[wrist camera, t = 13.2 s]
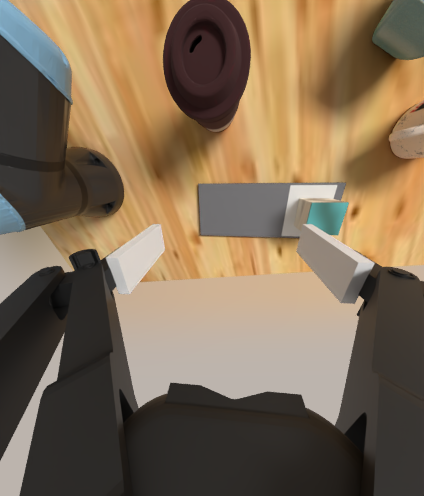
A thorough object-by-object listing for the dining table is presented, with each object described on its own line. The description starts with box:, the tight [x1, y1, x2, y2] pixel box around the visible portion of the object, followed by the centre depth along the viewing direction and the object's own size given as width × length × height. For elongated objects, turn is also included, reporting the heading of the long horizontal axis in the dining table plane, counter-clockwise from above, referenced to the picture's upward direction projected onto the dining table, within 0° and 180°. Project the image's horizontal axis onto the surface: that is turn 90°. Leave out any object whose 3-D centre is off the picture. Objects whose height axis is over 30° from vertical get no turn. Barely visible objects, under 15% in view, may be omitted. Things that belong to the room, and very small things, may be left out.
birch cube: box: [294, 198, 349, 235], centre depth 32 cm, size 6×6×6 cm
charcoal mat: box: [198, 183, 346, 238], centre depth 36 cm, size 30×12×1 cm, turn 90°
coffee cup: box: [163, 0, 251, 132], centre depth 23 cm, size 10×10×15 cm
